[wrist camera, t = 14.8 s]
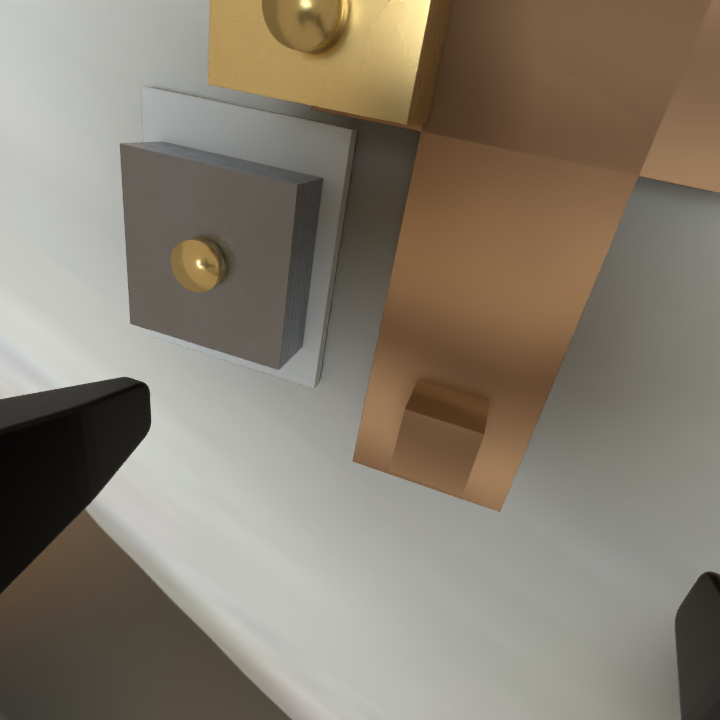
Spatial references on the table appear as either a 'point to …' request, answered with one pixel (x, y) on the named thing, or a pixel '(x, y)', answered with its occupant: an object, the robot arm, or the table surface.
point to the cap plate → (219, 249)
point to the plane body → (525, 216)
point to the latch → (332, 53)
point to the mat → (278, 149)
